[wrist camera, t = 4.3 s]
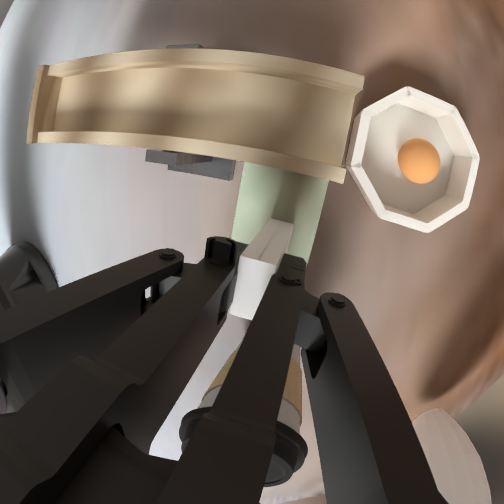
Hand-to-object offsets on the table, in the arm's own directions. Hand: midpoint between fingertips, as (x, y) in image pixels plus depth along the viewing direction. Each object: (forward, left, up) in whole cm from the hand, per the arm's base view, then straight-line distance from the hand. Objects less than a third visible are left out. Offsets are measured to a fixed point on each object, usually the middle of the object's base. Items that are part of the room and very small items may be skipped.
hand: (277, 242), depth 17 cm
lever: (-8, +4, 0) cm, 9 cm away
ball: (+9, +7, -5) cm, 13 cm away
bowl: (+9, +7, -8) cm, 14 cm away
